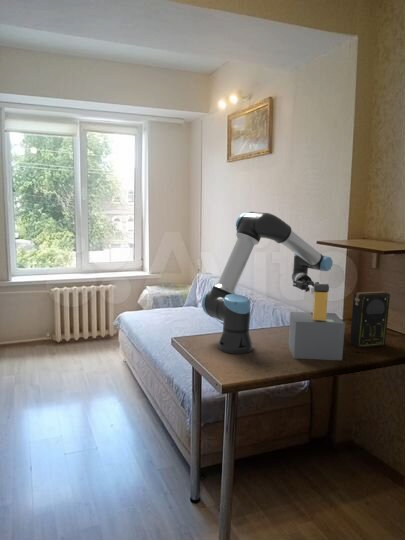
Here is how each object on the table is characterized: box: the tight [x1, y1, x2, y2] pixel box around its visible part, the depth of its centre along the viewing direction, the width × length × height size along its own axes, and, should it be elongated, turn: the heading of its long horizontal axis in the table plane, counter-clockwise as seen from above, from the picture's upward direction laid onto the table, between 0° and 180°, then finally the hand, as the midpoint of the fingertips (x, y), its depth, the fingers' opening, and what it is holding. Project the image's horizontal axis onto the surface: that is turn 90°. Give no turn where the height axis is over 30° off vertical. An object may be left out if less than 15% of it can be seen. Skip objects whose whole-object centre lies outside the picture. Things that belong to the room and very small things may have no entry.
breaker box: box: [288, 311, 346, 361], centre depth 184 cm, size 20×16×16 cm
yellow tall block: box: [312, 283, 330, 321], centre depth 177 cm, size 6×3×15 cm, turn 87°
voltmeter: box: [349, 290, 391, 349], centre depth 196 cm, size 16×9×25 cm, turn 105°
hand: (312, 290), depth 193 cm, fingers closed
